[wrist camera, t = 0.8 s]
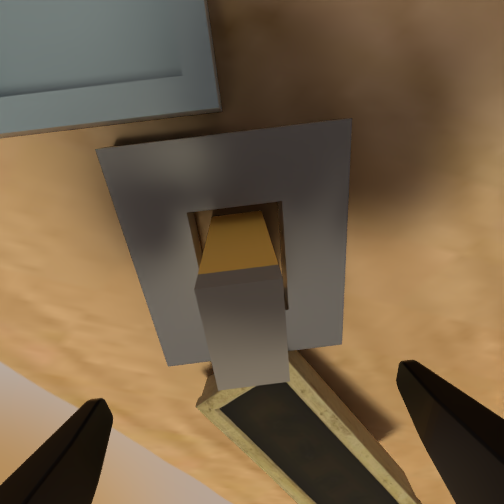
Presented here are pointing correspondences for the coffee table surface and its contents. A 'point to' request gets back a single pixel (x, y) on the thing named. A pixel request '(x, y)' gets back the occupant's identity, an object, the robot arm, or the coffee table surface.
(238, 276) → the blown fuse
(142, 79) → the parts tray
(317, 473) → the box
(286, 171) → the socket block
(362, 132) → the coffee table surface
